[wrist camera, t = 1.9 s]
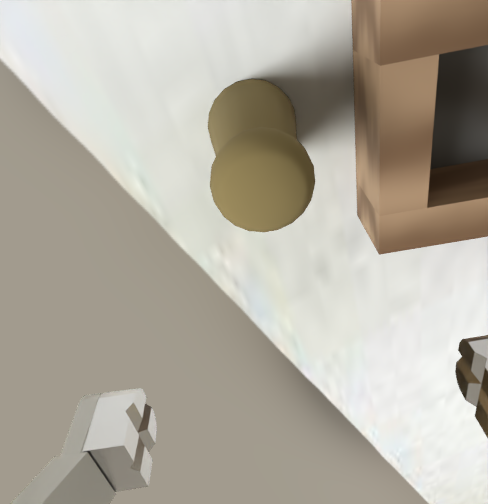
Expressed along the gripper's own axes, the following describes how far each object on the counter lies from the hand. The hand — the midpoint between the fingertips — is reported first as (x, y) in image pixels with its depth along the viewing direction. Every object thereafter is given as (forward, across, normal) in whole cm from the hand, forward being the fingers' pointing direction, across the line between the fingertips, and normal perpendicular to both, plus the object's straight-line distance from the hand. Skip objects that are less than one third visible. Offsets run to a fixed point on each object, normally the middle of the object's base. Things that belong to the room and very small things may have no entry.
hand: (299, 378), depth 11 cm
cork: (+22, 0, 0) cm, 22 cm away
